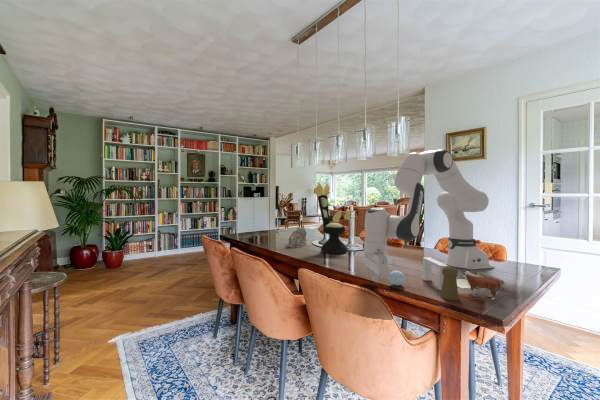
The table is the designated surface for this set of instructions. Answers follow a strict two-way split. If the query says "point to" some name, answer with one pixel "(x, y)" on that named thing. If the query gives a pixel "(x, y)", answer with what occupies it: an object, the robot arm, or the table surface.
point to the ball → (396, 278)
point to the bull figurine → (482, 284)
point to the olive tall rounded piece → (449, 284)
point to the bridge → (428, 270)
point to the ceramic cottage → (298, 238)
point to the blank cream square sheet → (463, 284)
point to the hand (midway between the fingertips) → (375, 280)
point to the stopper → (491, 278)
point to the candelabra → (331, 228)
